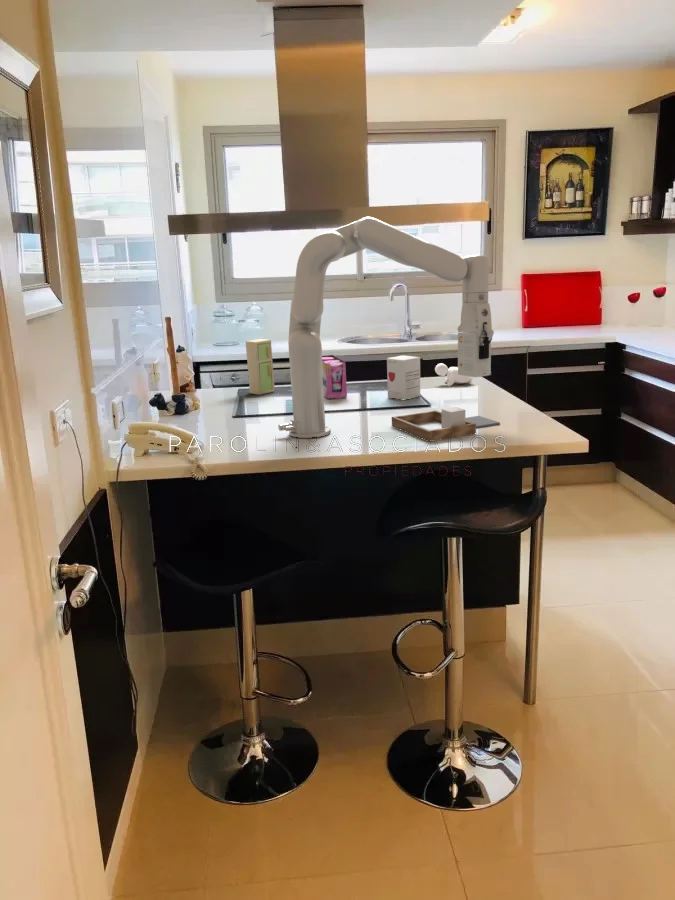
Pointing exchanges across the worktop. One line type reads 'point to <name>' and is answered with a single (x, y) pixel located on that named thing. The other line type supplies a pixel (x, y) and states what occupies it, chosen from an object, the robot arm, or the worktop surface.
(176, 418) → the worktop surface
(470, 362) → the small box
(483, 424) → the slate mat
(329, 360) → the gum box
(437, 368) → the white animal figurine
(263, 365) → the toy refrigerator
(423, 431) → the tray
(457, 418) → the white block
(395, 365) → the supplement box
